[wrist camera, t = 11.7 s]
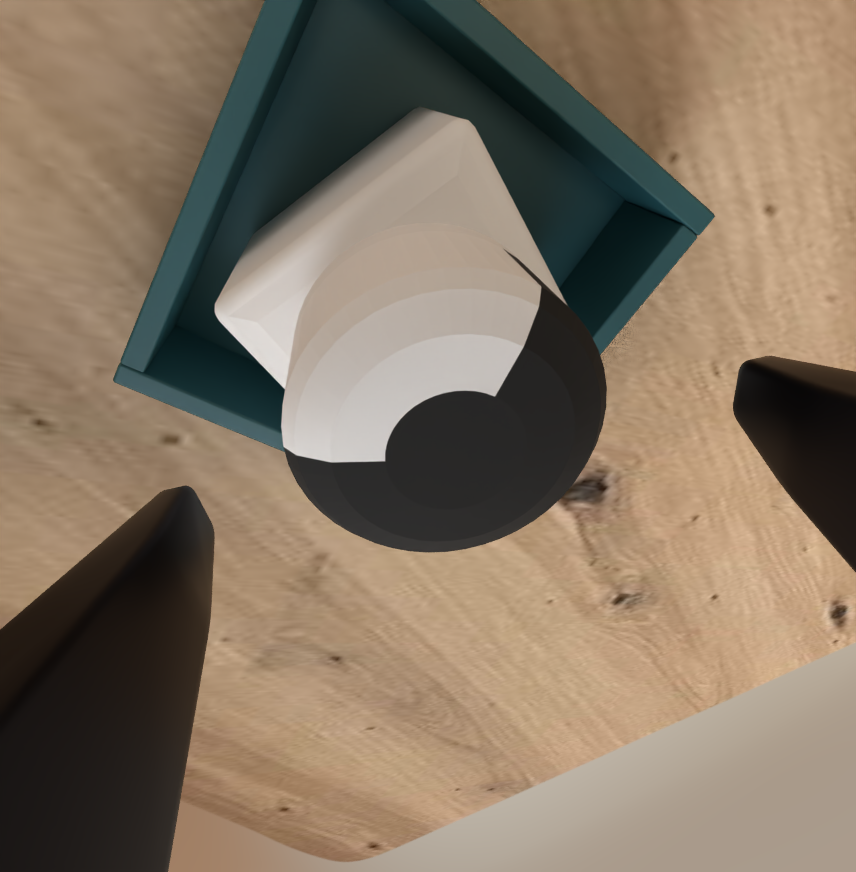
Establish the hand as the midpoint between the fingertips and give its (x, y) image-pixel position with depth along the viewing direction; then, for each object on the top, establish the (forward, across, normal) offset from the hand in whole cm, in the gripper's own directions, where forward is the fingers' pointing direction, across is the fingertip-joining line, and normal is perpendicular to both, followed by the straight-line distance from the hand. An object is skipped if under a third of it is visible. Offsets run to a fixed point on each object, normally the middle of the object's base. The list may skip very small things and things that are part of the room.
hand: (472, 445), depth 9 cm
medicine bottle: (+13, 0, 0) cm, 13 cm away
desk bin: (+13, 0, 0) cm, 13 cm away
